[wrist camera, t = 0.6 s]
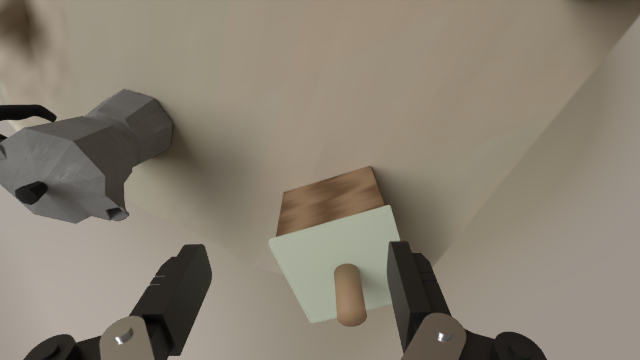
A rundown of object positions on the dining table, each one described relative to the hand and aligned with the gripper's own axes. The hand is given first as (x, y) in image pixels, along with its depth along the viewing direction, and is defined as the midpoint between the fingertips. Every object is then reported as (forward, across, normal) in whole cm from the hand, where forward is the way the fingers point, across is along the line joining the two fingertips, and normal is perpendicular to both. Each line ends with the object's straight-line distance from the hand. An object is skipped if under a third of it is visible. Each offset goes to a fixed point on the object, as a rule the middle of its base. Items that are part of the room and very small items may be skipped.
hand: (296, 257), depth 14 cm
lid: (+18, -3, +18) cm, 25 cm away
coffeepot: (+28, +24, +2) cm, 37 cm away
